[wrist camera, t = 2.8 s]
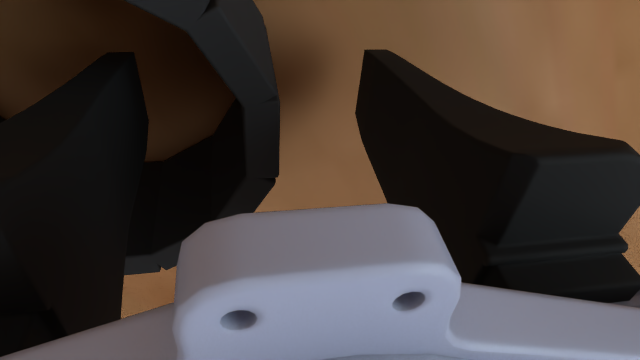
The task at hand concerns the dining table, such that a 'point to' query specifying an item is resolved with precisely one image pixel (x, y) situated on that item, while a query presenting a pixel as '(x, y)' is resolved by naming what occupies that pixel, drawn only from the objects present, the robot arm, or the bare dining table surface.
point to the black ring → (217, 151)
